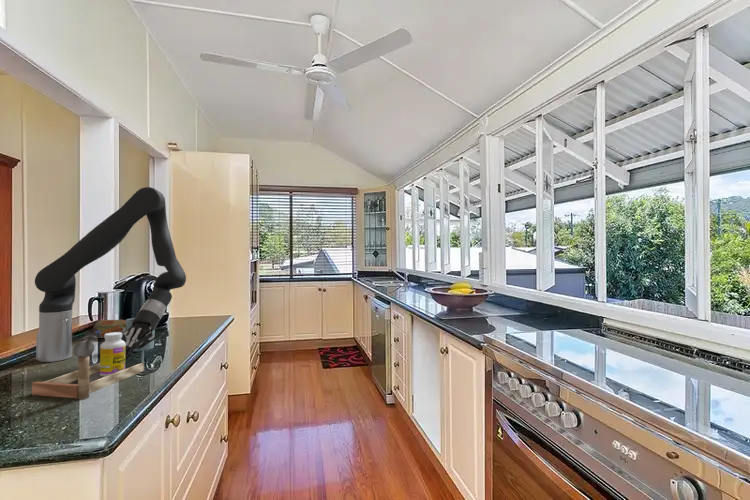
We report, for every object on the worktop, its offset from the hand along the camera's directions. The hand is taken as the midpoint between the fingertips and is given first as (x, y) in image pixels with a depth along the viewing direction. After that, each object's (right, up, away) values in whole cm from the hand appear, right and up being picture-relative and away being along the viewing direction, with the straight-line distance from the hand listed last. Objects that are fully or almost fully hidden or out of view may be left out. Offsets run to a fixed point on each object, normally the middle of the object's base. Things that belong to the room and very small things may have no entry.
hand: (122, 358), depth 126 cm
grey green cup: (-11, -4, +28) cm, 30 cm away
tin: (-35, -4, +45) cm, 57 cm away
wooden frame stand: (0, -4, -12) cm, 12 cm away
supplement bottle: (-1, -4, -4) cm, 6 cm away
